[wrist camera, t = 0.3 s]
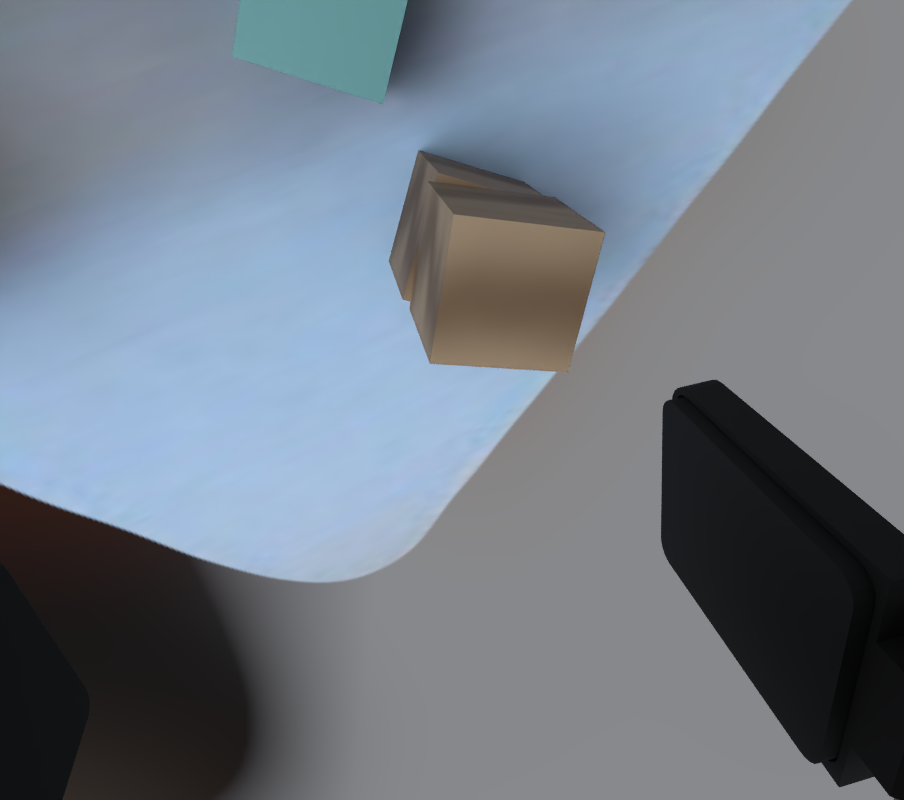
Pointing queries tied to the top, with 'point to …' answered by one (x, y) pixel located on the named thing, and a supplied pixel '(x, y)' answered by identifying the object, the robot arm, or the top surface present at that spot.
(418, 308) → the tower mid
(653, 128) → the top surface
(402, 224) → the tower base
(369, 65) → the teal block
